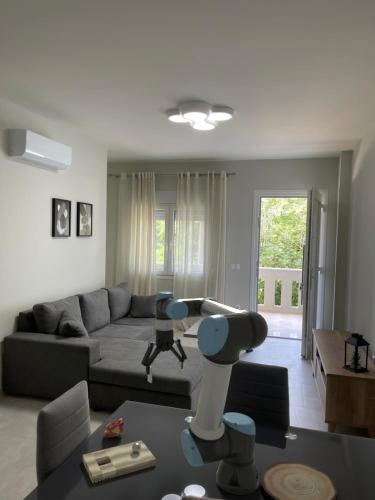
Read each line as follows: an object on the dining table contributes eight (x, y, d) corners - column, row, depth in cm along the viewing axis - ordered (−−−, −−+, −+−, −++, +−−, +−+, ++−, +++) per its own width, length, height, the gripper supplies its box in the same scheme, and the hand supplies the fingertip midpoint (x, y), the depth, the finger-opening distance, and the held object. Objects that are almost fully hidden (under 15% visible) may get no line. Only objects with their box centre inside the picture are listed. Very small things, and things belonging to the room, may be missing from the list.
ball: (142, 453, 152) (142, 444, 152) (133, 455, 151) (133, 446, 151) (139, 448, 156) (139, 440, 155) (130, 451, 154) (130, 442, 154)
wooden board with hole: (155, 465, 149) (155, 458, 149) (92, 483, 138) (92, 476, 138) (141, 446, 162) (141, 440, 162) (82, 461, 151) (82, 454, 151)
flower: (131, 429, 172) (122, 413, 174) (126, 435, 163) (116, 418, 165) (113, 441, 172) (104, 425, 174) (107, 448, 163) (97, 431, 165)
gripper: (186, 324, 175) (186, 372, 175) (133, 330, 163) (133, 381, 163) (194, 327, 168) (194, 377, 168) (140, 333, 156) (140, 387, 157)
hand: (164, 379), depth 166 cm, fingers open, 13 cm apart
